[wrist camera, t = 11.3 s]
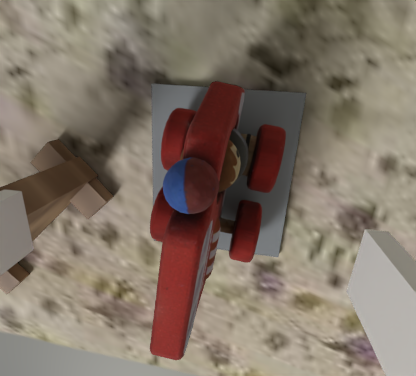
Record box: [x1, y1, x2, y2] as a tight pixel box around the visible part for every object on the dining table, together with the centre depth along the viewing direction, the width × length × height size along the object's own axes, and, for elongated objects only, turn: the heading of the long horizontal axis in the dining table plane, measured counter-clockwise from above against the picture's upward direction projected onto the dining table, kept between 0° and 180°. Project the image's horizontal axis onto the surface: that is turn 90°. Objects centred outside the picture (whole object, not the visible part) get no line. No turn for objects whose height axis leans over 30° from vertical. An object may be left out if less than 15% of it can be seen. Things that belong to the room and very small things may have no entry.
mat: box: [152, 84, 306, 257], centre depth 20 cm, size 12×10×1 cm
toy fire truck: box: [150, 81, 286, 360], centre depth 15 cm, size 7×12×10 cm, turn 169°
